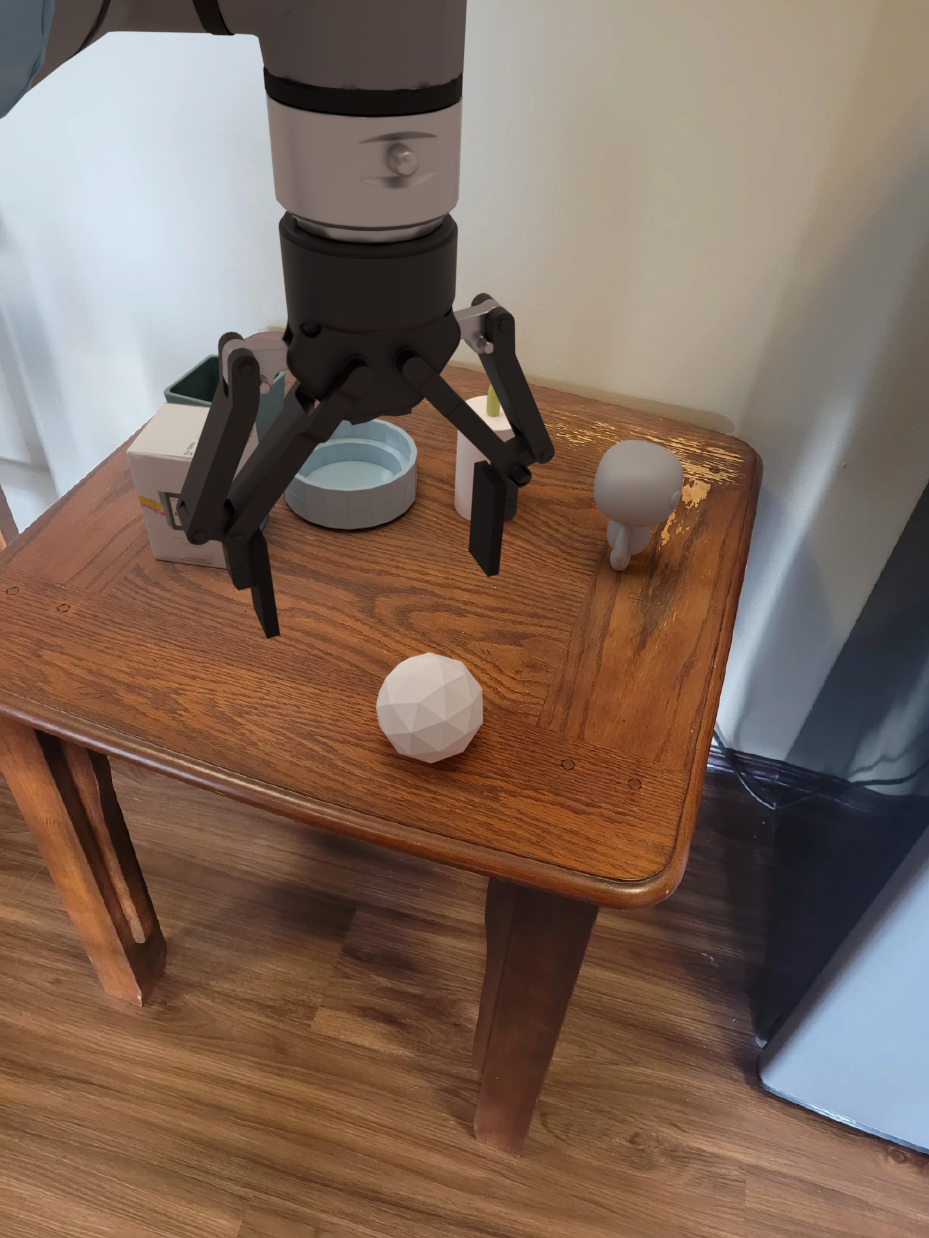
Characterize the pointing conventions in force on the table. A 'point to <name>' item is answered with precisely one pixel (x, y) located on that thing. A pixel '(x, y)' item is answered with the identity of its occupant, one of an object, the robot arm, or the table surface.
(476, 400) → the candle
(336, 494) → the bowl
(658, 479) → the figurine
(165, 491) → the ink box
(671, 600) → the table surface
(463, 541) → the table surface
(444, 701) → the geometric ball
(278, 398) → the flower pot
